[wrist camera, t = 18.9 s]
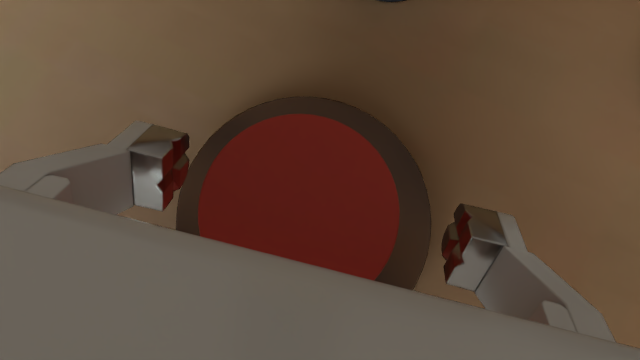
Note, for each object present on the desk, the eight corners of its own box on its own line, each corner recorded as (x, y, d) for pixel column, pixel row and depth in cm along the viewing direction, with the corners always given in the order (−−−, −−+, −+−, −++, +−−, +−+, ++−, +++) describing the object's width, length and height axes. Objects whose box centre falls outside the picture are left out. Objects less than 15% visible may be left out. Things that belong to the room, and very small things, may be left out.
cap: (314, 328, 16) (320, 362, 11) (198, 235, 16) (152, 226, 11) (399, 212, 17) (440, 194, 12) (287, 127, 17) (281, 74, 12)
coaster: (321, 404, 16) (322, 411, 15) (128, 235, 17) (120, 234, 16) (473, 203, 18) (481, 200, 17) (290, 58, 19) (290, 49, 18)
